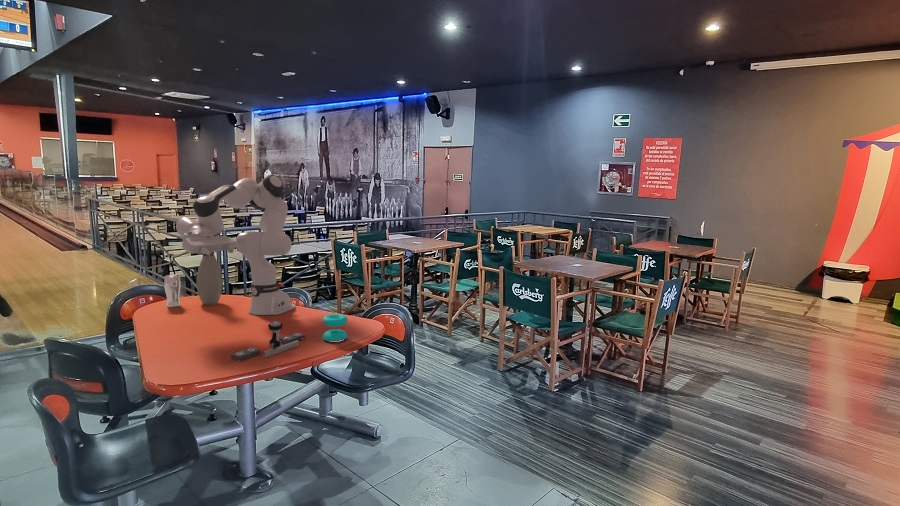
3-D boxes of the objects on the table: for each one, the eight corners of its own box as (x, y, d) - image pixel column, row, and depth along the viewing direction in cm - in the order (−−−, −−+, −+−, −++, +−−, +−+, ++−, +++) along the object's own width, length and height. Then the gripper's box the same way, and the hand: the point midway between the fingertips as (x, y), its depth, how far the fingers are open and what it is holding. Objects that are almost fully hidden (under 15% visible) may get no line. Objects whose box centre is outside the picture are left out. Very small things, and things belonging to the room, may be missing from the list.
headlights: (296, 336, 202) (296, 331, 201) (312, 340, 197) (312, 336, 197) (230, 358, 175) (230, 353, 175) (248, 364, 170) (248, 358, 170)
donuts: (318, 318, 195) (329, 312, 204) (318, 342, 196) (329, 334, 206) (341, 321, 192) (351, 314, 202) (340, 344, 194) (351, 337, 204)
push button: (263, 346, 189) (263, 321, 187) (275, 342, 193) (275, 318, 191) (273, 350, 185) (273, 325, 183) (285, 346, 189) (285, 322, 187)
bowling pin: (192, 305, 240) (189, 229, 234) (207, 300, 251) (205, 227, 245) (212, 307, 238) (210, 231, 232) (227, 301, 249) (225, 228, 243)
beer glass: (174, 308, 234) (172, 277, 232) (161, 306, 235) (160, 276, 233) (184, 304, 241) (183, 275, 238) (172, 303, 242) (171, 274, 240)
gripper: (224, 243, 215) (242, 256, 209) (178, 247, 198) (196, 262, 192) (226, 230, 214) (245, 243, 207) (180, 233, 196) (199, 247, 190)
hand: (221, 252), depth 200 cm, fingers open, 8 cm apart
